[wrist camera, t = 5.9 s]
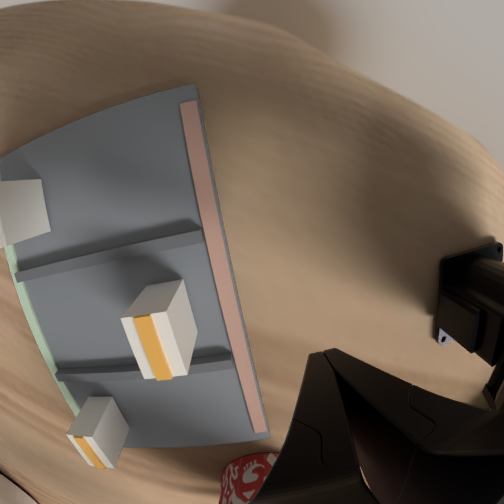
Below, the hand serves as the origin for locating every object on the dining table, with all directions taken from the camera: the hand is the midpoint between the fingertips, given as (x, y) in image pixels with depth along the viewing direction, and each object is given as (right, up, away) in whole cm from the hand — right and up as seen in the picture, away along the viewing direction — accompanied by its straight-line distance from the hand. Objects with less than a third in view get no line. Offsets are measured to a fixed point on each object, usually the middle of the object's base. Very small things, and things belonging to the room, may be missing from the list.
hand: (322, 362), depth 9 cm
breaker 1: (-15, +6, +5) cm, 16 cm away
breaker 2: (-12, -8, +8) cm, 16 cm away
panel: (-10, 0, +8) cm, 13 cm away
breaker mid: (-6, 0, +7) cm, 9 cm away
